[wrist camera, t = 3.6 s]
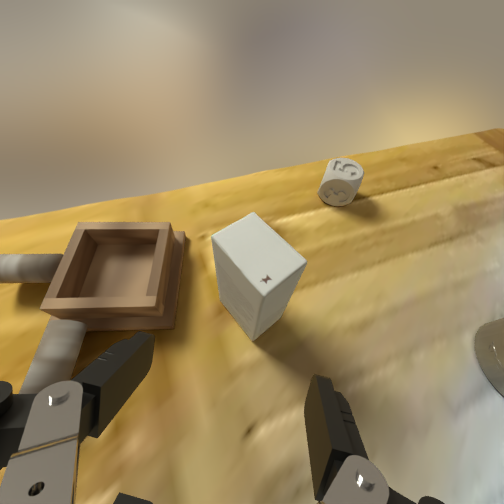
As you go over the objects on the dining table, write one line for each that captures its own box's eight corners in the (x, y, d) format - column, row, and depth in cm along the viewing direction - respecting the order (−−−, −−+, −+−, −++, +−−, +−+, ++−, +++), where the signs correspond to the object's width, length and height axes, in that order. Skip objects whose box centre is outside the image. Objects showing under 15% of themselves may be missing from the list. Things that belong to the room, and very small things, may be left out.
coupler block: (185, 236, 31) (179, 215, 28) (165, 395, 22) (152, 393, 18) (40, 236, 30) (15, 215, 27) (-52, 407, 20) (-110, 407, 17)
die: (321, 180, 39) (332, 153, 35) (352, 189, 38) (366, 163, 34) (314, 200, 36) (324, 173, 32) (346, 210, 36) (361, 184, 31)
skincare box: (282, 317, 26) (311, 262, 16) (252, 343, 24) (264, 299, 14) (247, 278, 28) (254, 208, 18) (218, 299, 27) (207, 235, 17)
